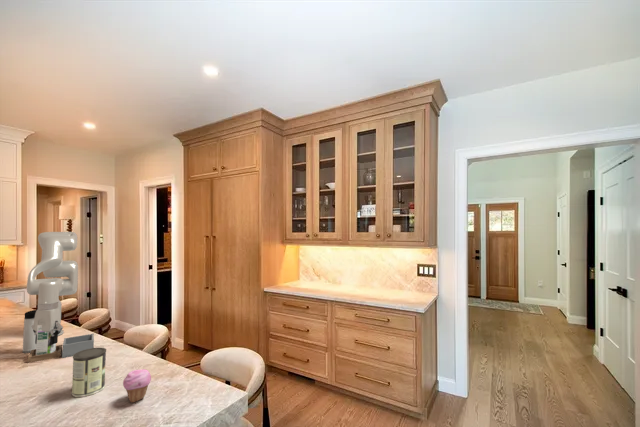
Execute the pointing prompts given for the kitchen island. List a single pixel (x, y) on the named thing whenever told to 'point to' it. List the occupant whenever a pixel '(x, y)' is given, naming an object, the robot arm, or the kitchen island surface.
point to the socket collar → (44, 355)
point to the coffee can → (88, 372)
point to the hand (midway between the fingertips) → (46, 343)
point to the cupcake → (137, 384)
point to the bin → (77, 344)
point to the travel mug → (29, 332)
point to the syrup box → (44, 342)
